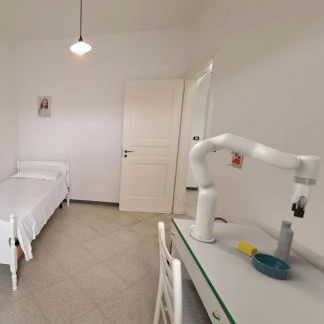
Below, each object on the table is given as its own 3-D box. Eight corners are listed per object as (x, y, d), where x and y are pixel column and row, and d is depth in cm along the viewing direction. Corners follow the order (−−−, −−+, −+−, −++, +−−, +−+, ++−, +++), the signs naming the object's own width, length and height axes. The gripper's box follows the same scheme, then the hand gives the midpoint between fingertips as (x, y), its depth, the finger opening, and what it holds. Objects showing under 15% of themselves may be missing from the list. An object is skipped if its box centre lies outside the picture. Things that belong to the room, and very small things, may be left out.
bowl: (244, 263, 102) (246, 255, 101) (263, 259, 106) (264, 251, 105) (277, 282, 89) (279, 273, 89) (296, 276, 93) (298, 267, 93)
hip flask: (287, 266, 100) (295, 228, 97) (275, 262, 103) (283, 225, 100) (284, 252, 112) (291, 218, 109) (274, 249, 115) (281, 216, 112)
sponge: (237, 248, 115) (238, 242, 114) (242, 247, 116) (243, 241, 115) (250, 256, 108) (252, 249, 107) (256, 255, 109) (257, 248, 108)
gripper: (291, 176, 107) (284, 207, 110) (294, 182, 95) (287, 217, 97) (312, 179, 102) (305, 211, 105) (319, 185, 90) (311, 222, 92)
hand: (296, 214), depth 101 cm, fingers open, 9 cm apart
